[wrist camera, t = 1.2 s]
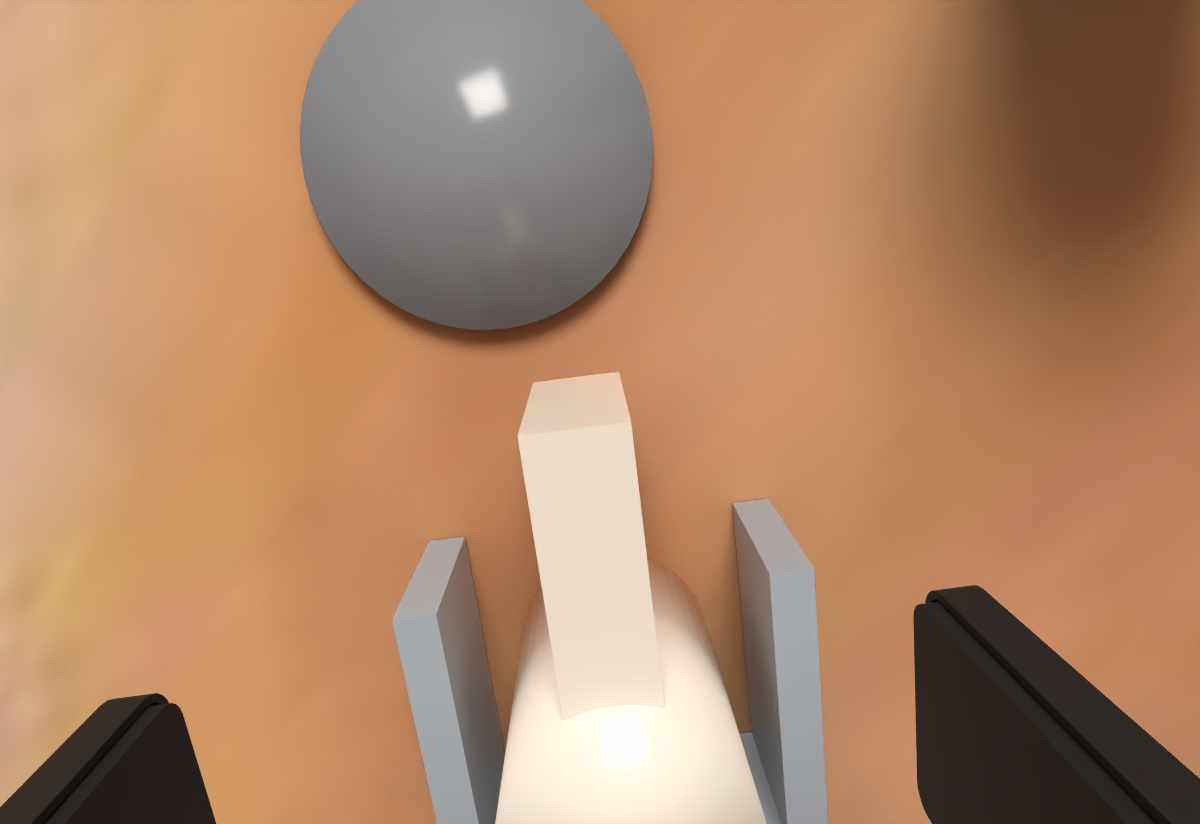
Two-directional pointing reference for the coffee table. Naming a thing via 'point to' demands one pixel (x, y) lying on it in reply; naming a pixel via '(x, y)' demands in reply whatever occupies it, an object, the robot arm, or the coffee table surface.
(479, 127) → the grey round disc
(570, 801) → the white lever knob
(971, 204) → the coffee table surface
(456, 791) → the holder
